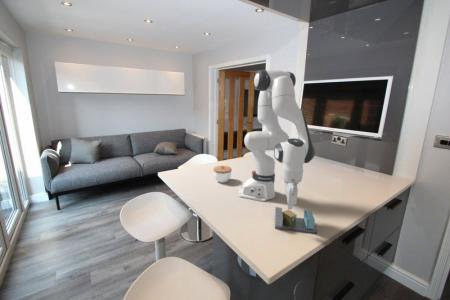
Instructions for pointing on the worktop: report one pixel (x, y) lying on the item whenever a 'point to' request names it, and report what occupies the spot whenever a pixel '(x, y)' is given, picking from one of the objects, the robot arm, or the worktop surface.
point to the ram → (309, 219)
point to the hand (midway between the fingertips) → (288, 203)
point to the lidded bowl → (222, 173)
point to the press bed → (297, 226)
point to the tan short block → (289, 217)
